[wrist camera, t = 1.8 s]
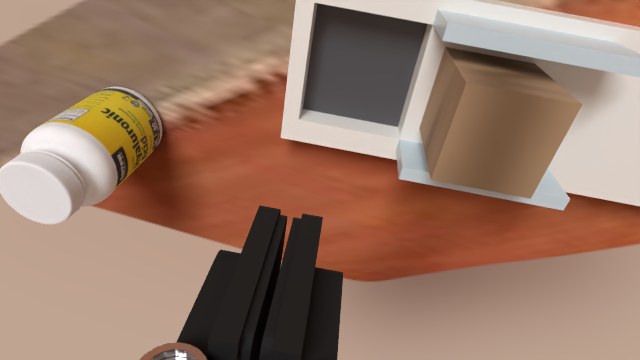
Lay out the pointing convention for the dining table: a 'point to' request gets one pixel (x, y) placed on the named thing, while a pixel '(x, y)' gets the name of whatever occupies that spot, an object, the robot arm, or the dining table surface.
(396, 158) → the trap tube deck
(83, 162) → the supplement bottle
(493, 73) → the walnut block
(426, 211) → the dining table surface
